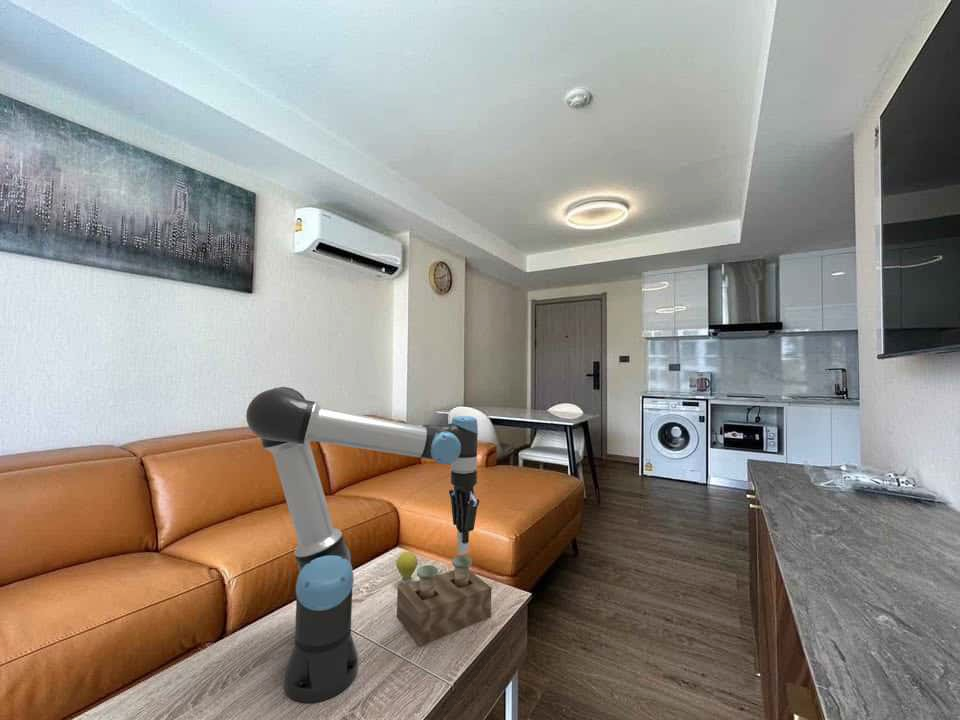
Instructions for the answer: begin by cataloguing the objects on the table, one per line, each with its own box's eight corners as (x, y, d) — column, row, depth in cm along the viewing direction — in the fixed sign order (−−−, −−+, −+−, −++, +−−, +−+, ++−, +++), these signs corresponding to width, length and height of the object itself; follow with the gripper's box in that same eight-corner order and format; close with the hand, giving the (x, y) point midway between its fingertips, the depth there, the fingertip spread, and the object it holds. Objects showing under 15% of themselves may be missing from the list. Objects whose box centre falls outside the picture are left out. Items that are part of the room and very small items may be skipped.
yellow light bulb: (412, 591, 121) (413, 558, 121) (392, 588, 122) (393, 556, 122) (420, 580, 127) (420, 549, 128) (400, 578, 129) (401, 547, 129)
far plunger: (458, 596, 108) (458, 566, 108) (448, 587, 112) (448, 558, 113) (474, 590, 111) (475, 561, 111) (464, 581, 116) (465, 554, 116)
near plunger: (421, 609, 102) (422, 577, 102) (412, 598, 106) (413, 568, 107) (440, 602, 105) (441, 572, 105) (431, 592, 109) (431, 563, 110)
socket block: (418, 646, 96) (419, 612, 97) (396, 616, 108) (397, 587, 108) (490, 616, 109) (491, 587, 109) (464, 593, 120) (464, 566, 121)
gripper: (487, 473, 110) (486, 558, 109) (463, 464, 121) (462, 541, 120) (465, 476, 106) (463, 565, 105) (441, 467, 116) (440, 547, 115)
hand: (462, 553), depth 112 cm, fingers closed
